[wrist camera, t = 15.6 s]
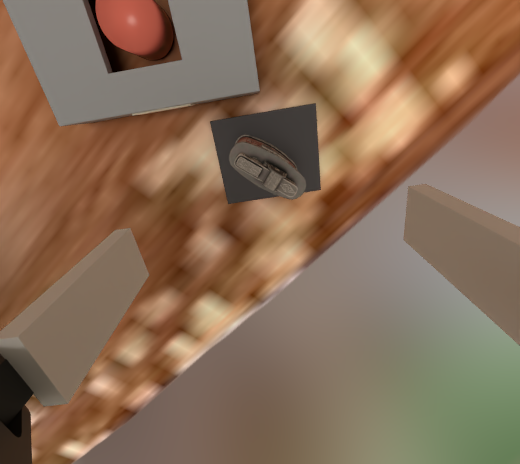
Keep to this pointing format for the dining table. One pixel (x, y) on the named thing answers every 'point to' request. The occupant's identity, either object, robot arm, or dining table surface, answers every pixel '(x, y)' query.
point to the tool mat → (276, 133)
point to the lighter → (267, 167)
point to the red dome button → (136, 26)
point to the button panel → (140, 79)
